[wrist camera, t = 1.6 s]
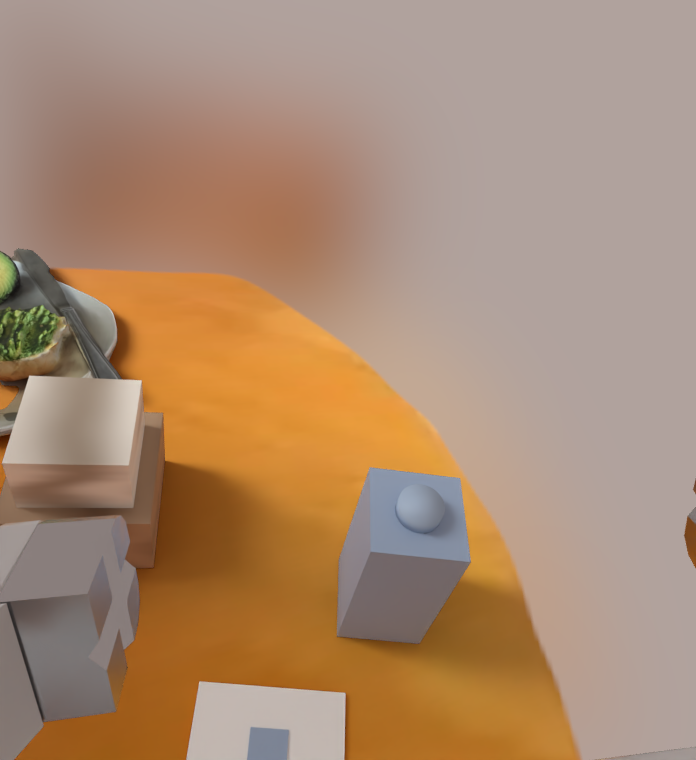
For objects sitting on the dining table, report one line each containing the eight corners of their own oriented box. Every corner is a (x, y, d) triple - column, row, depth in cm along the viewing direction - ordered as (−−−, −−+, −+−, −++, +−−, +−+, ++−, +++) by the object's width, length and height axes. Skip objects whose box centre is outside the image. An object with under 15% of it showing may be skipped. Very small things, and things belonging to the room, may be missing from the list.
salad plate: (188, 344, 53) (188, 300, 50) (17, 499, 41) (3, 456, 38) (4, 252, 57) (-7, 205, 54) (-202, 370, 45) (-232, 319, 42)
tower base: (9, 569, 38) (-26, 479, 31) (39, 457, 43) (14, 362, 37) (153, 567, 39) (146, 482, 33) (164, 460, 45) (161, 368, 38)
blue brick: (336, 636, 38) (374, 543, 31) (338, 559, 42) (372, 458, 34) (419, 643, 39) (475, 554, 31) (414, 567, 42) (464, 469, 35)
